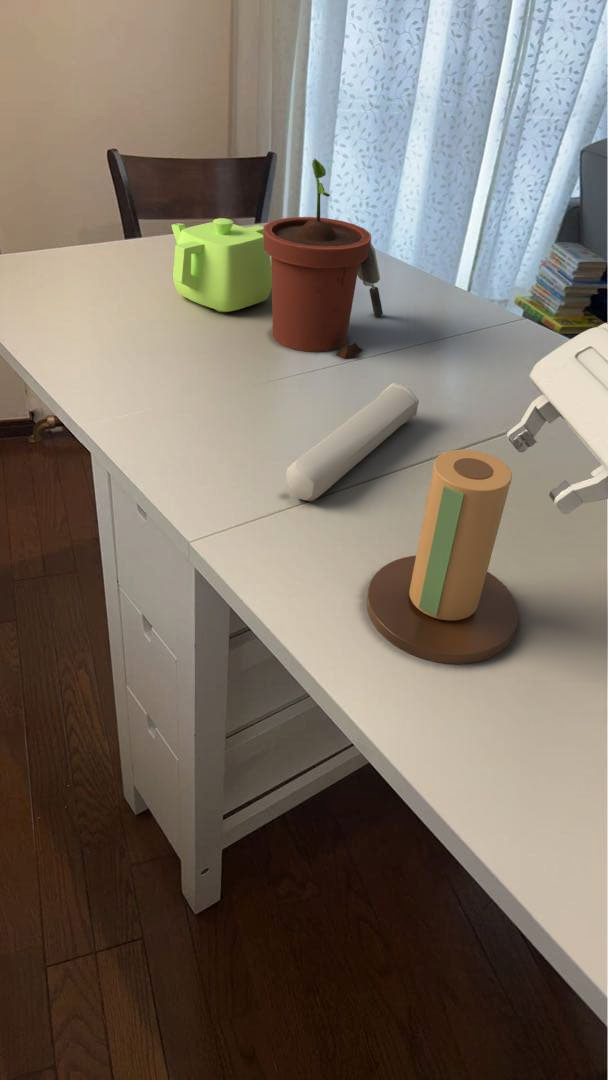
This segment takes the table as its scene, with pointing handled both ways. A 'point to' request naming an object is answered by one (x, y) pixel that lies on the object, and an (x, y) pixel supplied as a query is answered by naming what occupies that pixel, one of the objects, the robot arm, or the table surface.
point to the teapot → (221, 265)
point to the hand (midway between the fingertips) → (532, 473)
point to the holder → (436, 636)
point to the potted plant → (318, 278)
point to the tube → (350, 442)
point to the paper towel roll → (458, 533)
